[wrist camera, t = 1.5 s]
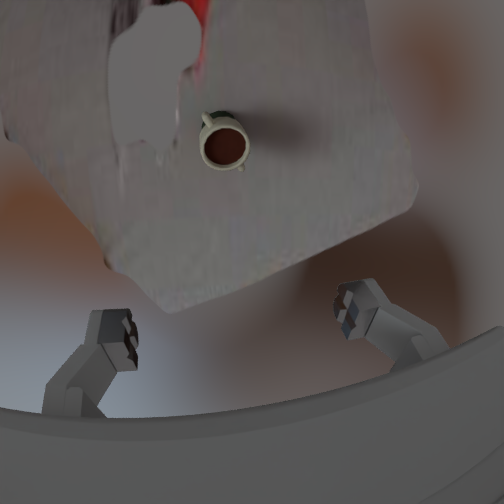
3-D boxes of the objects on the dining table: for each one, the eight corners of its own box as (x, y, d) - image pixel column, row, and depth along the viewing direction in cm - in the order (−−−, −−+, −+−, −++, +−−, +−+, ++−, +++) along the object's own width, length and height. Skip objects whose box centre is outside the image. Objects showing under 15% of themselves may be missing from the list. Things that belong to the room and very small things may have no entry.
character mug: (185, 114, 48) (182, 133, 38) (219, 91, 47) (226, 103, 36) (219, 159, 54) (225, 189, 44) (251, 139, 53) (266, 164, 43)
